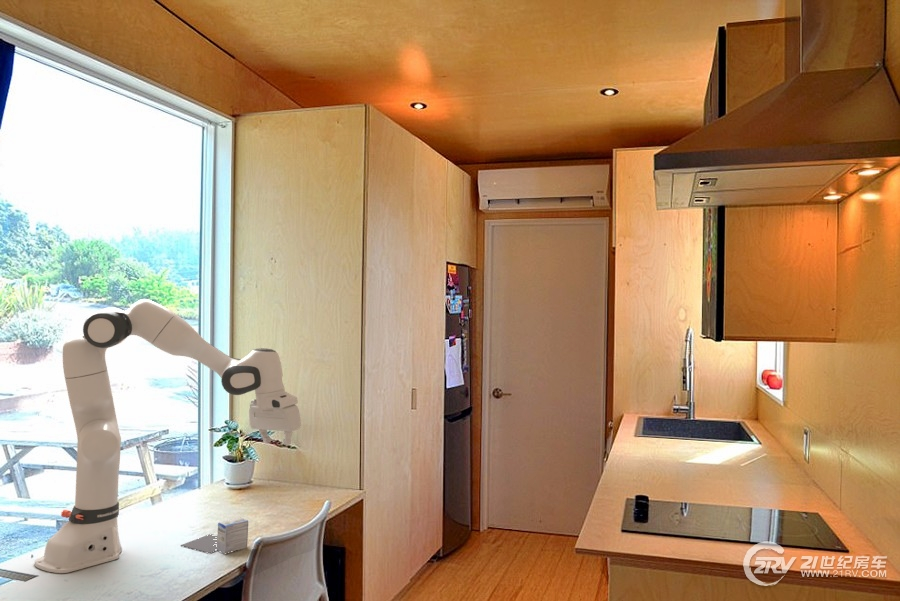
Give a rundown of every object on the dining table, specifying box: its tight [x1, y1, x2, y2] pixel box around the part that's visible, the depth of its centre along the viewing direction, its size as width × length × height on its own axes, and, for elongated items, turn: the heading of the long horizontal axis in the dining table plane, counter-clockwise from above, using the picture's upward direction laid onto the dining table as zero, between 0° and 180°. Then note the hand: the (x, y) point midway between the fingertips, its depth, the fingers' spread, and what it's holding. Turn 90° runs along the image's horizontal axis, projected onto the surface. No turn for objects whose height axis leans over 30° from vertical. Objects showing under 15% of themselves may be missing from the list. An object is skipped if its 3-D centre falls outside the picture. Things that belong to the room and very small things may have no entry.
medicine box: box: [217, 516, 249, 555], centre depth 208 cm, size 8×4×9 cm, turn 141°
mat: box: [180, 533, 218, 554], centre depth 212 cm, size 12×12×1 cm
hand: (277, 443), depth 214 cm, fingers open, 8 cm apart
